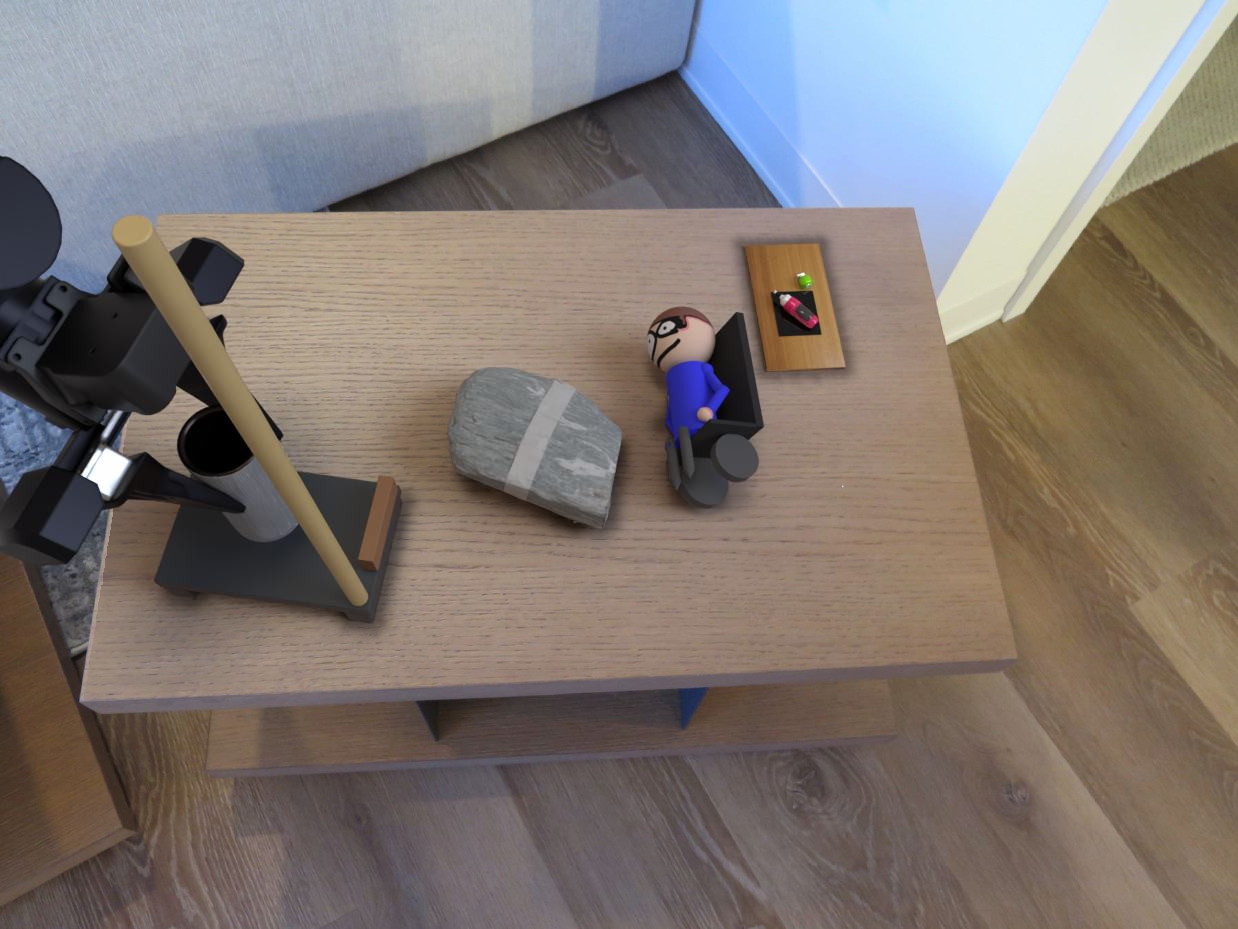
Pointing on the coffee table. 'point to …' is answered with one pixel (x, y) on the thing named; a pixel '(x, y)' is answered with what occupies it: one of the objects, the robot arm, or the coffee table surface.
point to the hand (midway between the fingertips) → (260, 474)
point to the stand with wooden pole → (323, 505)
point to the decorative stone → (535, 442)
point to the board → (794, 308)
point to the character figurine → (707, 402)
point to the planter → (233, 474)
